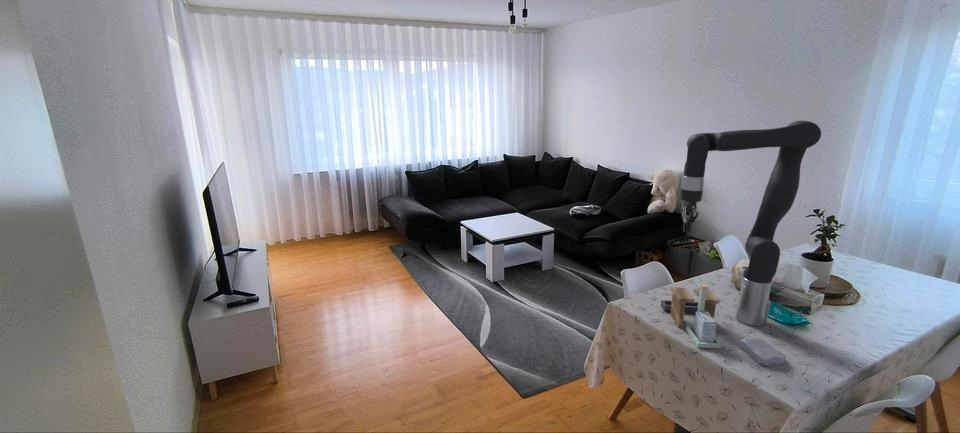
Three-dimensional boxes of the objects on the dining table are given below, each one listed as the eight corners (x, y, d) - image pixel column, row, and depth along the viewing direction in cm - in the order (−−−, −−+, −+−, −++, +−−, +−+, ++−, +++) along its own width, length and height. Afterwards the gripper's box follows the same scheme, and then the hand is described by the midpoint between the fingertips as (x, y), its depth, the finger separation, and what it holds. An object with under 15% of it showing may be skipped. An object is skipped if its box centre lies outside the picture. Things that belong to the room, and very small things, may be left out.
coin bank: (747, 277, 207) (753, 251, 202) (774, 296, 191) (780, 269, 186) (716, 279, 206) (721, 254, 201) (740, 299, 190) (746, 272, 185)
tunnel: (704, 316, 170) (708, 288, 167) (714, 329, 160) (719, 300, 157) (667, 314, 171) (670, 287, 168) (675, 327, 162) (679, 298, 159)
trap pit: (699, 307, 177) (699, 302, 176) (703, 313, 172) (704, 307, 171) (660, 305, 178) (661, 300, 178) (664, 311, 174) (664, 305, 173)
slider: (707, 330, 159) (714, 284, 154) (721, 348, 147) (729, 300, 143) (685, 328, 160) (691, 283, 155) (697, 347, 148) (704, 298, 143)
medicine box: (713, 345, 150) (717, 322, 148) (700, 344, 150) (703, 321, 148) (705, 333, 158) (708, 311, 155) (692, 332, 158) (695, 310, 156)
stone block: (760, 350, 151) (735, 346, 149) (766, 338, 149) (740, 334, 148) (787, 371, 139) (759, 368, 138) (793, 359, 138) (765, 355, 137)
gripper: (709, 191, 157) (702, 237, 161) (696, 184, 169) (690, 227, 174) (687, 191, 158) (681, 236, 162) (675, 184, 170) (670, 226, 175)
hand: (686, 231), depth 168 cm, fingers closed
